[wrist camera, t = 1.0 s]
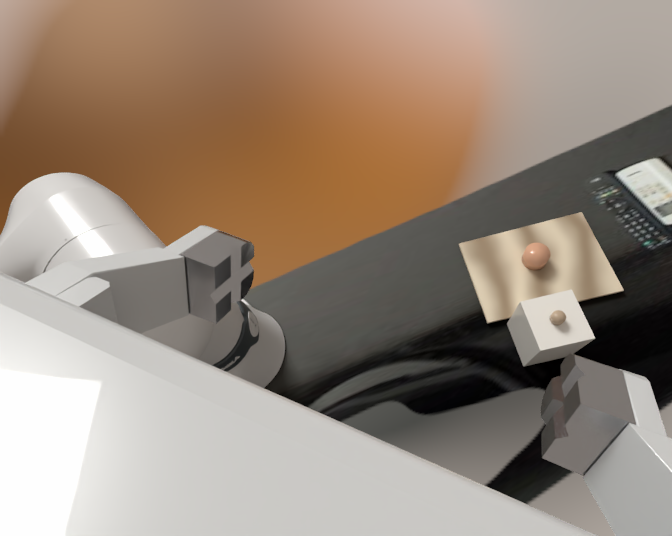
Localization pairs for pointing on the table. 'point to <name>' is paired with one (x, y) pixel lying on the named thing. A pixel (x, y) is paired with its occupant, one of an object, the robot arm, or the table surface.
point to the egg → (535, 256)
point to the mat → (556, 276)
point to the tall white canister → (549, 328)
